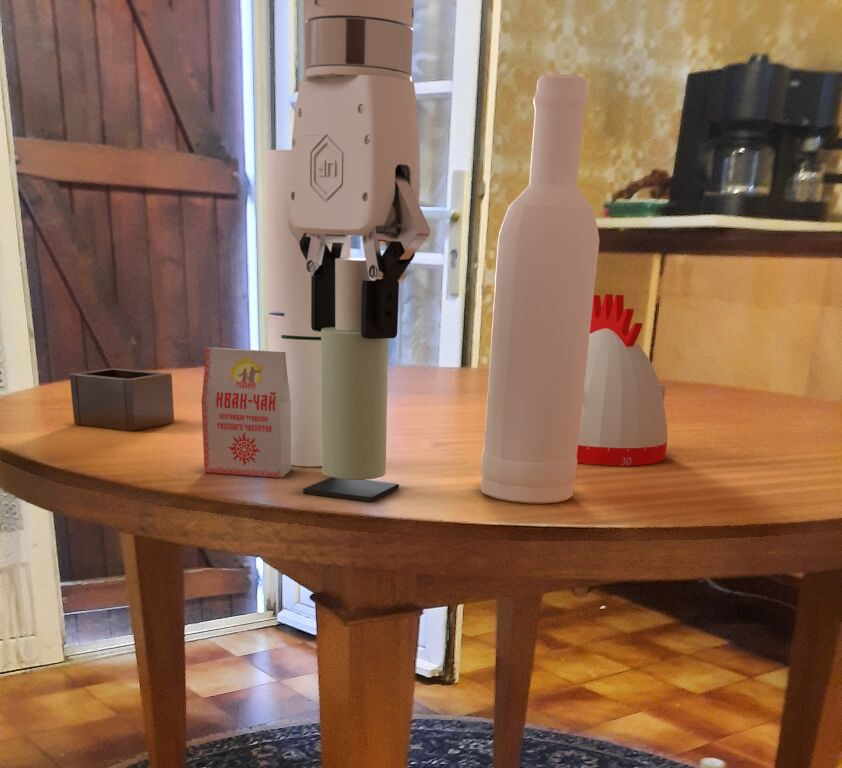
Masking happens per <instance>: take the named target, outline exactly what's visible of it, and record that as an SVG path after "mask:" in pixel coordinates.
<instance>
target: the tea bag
mask: <svg viewBox="0 0 842 768" xmlns="http://www.w3.org/2000/svg"><path fill="white" fill-rule="evenodd" d="M204 349H205V351H204V352H205V353H204V369H203V371H204V372H203V381H202V390H201V391H202V393H201V417H202V418H201V419H202V421H201V423H202V443H203V465H204V466H203V467H204V468H203V469H204V473H208V474H222V475H237V476H252V477H264V478H279V479H281V478H283V477H284V476H286V475H287V474H288V473H289V472H290V471H291V470H292V465H291V399H290V391H289V383H288V375H287V366H286V353H285V352H276V351H269V350H259V349H241V348H227V347H209V346H207V347H205V348H204Z"/></svg>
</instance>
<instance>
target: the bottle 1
mask: <svg viewBox="0 0 842 768" xmlns="http://www.w3.org/2000/svg"><path fill="white" fill-rule="evenodd" d="M362 280H370V278H369V276H368V271H367V265H366V259H365V258H361V257H360V258H358V257H356V258H355V257H350V258H336V259H335V327H326V328H322V329H321V366H322V466H321V470H322V474H323V475H325V476H327V477H328V478H331V477H333V478H338V479H347V480H374V479H379V478H383V477H384V476H385V475H386V474H387V426H388V425H387V422H388V419H387V418H388V417H387V416H388V368H389V366H388V364H389V338H386V339H366V338H363V337H362V335H361V301H362ZM370 281H371V280H370Z"/></svg>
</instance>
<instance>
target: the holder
mask: <svg viewBox="0 0 842 768" xmlns="http://www.w3.org/2000/svg"><path fill="white" fill-rule="evenodd" d="M69 381H70V394H71V402H72V404H71V405H72V413H73V414H72V415H73V424H74V425H76V426H86V427H94V428H102V429H109V430H110V429H111V430H119V431H120V430H121V431H128V432H139V431H144V430H147V429H151V428H155V427H160V426H164V425H169V424H173V423H175V413H174V410H175V409H174V392H173V376H172V373H170V372H159V371H148V370H139V369H130V368H129V369H127V368H117V367H110V368H103V369H102V368H101V369H96V370H89V371H88V370H87V371H80V372H74V373H69Z"/></svg>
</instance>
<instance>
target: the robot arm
mask: <svg viewBox="0 0 842 768" xmlns="http://www.w3.org/2000/svg"><path fill="white" fill-rule="evenodd" d="M304 7H305V8H304V34H305V36H304V42H305V43H304V79H305V80H300V82H299V87H298V92H297V97H296V103H295V110H294V117H293V127H292V134H291V135H292V136H291V149H290V150H291V166H290V221H289V229H290V231H291V232H292V234H293V236H294V237H295V239H296V240H297V242H298V243H299V244H300V249H301V252H302V253H303V255H304V257H305V259H306V261H307V262H306V270H307V273H308V274H309V275H314V276H311V328H312V330H313V331H318V332H321V329H322V328H326V327H335V259H336V258H345V255H346V250H347V245H348V240H349V236H350V235H351V236H356V237H361V241H362V246H363V247H362V248H363V253H364V259H366V265H367V271H368V276H369V278H370V280H371V281H370V280H362V301H361V335H362V337H363V338H366V339H386V338H388V339H395V338H396V337H397V335H398V327H399V298H400V295H399V293H400V283H401V282H403V281H404V280H405V279H406V277H407V268H408V266H409V265H410V264H411V262H412V261H413V259H414V258H415V255H416V252H418V251H419V249H420V248H421V247H422V245H423V244H424V243H425V242H426V241H427V240H428V238H429V237H430V233H431V228H430V225H429V223H428V221H427V219H426V216H425V215H424V212H423V210H422V208H421V206H420V186H421V183H420V182H421V168H420V167H421V154H420V153H421V152H420V151H421V150H420V129H419V127H420V126H419V117H418V116H419V114H418V105H417V96H416V88H415V87H416V86H415V82H414V81H412V71H413V68H412V67H413V65H412V64H413V41H414V40H413V39H414V17H415V16H414V14H415V13H414V11H415V0H304ZM326 243H332V248H331V252H330V250H329V248H328V246H327V245H326ZM381 247H385V250H384V251H383V253H382V251H381Z"/></svg>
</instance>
